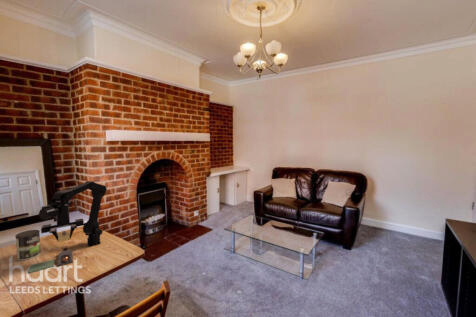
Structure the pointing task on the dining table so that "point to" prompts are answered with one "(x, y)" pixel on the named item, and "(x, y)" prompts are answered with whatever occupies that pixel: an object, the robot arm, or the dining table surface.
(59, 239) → the tan rectangular block
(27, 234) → the coffee can
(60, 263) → the body
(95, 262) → the dining table surface
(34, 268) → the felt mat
